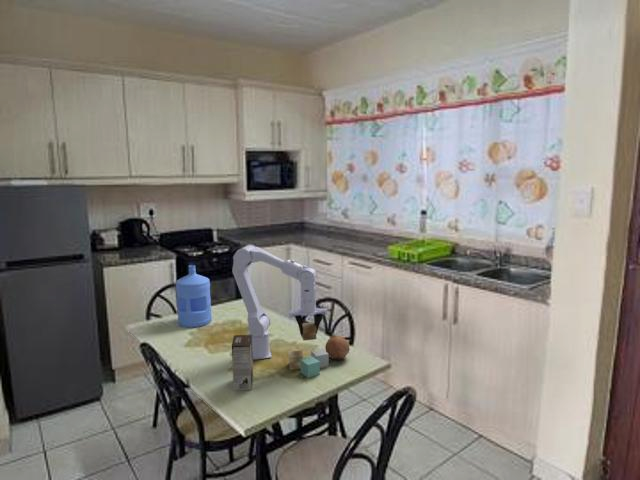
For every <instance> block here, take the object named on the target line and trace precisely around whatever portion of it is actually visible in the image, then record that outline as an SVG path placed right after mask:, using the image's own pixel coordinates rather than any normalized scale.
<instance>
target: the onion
mask: <svg viewBox="0 0 640 480" xmlns="http://www.w3.org/2000/svg"><path fill="white" fill-rule="evenodd" d="M324 350H325V351H326V352H327V353H328V354H329V357H330V358H331V359H333V360H336V361H341V360H343V359H344V358H346V357H347V355H348V354H349V353H350V344H349V342H348V340H347V339H346V338H344V337H343V336H339V335H336V334H332V336H330V337H329V338H328V340H327V341H326V343H325V348H324Z"/></svg>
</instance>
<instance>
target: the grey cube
mask: <svg viewBox="0 0 640 480" xmlns="http://www.w3.org/2000/svg"><path fill="white" fill-rule="evenodd" d="M310 357H314V358H315V359H317V360H318V361H320V369H321V368H326V367H329V366H330V365H329V361H330V359H329V357H330V356H329V354H328V353H327V352H326V349H325V348H321V349H315V350H314V349H313V350H311V351H310Z"/></svg>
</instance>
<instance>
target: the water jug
mask: <svg viewBox="0 0 640 480" xmlns="http://www.w3.org/2000/svg"><path fill="white" fill-rule="evenodd" d="M175 290H176V302H177V303H176V304H177V305H176V306H177V323H178V325H179V326H180V327H183V328H200V327H203V326H207V325H209V324H210V323H211V322H212V307H211V305H212V300H211V281H210V278H208V277H206V276H203V275H200V274H197V272H196V265H195V264H190V265H188V274H187V275H185V276H182V277H181V278H179V279H178V280H176V281H175Z"/></svg>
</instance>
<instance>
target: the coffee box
mask: <svg viewBox="0 0 640 480" xmlns="http://www.w3.org/2000/svg"><path fill="white" fill-rule="evenodd" d="M231 359H232V362H231V363H232V365H231V366H232V387H233V391H249V390H250V391H251V390H253V383H254V360H253V352H252V335H248V334H236V335H233V339H232V343H231Z"/></svg>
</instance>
